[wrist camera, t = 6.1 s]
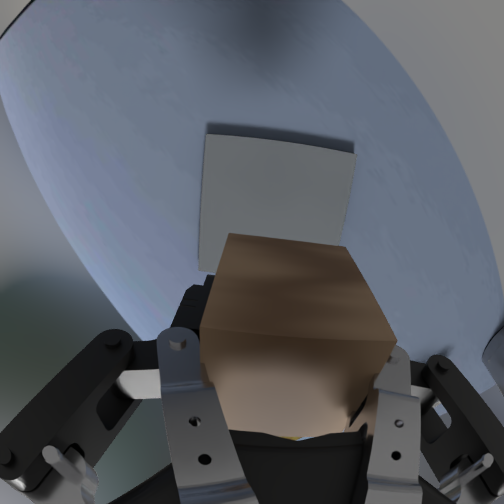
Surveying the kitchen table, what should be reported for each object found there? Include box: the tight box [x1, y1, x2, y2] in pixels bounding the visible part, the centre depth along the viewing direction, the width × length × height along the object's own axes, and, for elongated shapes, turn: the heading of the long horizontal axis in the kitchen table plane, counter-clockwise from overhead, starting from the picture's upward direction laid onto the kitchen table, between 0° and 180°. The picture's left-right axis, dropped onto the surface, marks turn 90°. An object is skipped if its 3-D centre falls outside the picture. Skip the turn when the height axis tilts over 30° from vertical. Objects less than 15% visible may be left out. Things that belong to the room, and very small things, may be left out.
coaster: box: [198, 134, 357, 273], centre depth 23 cm, size 12×12×1 cm
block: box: [200, 233, 397, 437], centre depth 10 cm, size 5×5×6 cm
